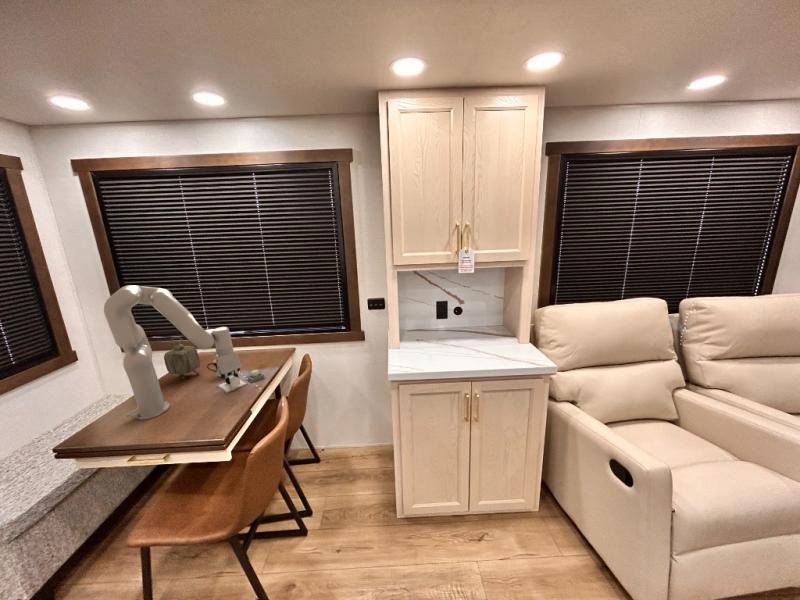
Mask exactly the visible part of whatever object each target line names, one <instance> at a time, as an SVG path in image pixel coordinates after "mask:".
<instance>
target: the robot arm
mask: <svg viewBox="0 0 800 600" xmlns="http://www.w3.org/2000/svg"><path fill="white" fill-rule="evenodd" d="M138 304H139V305H146V306H147V305H148V306H149V305H150V306H152V307H153V308H154V309H155V310H156V311H157V312H158V313H160V314H161V315H162V316H163V317H165V318H166V319H167V321H169V322H170V323H171V324H172V325H173V326H174V327H175V328H176V329H177V330H178V331H179V332H181V334H182V335H183V336H184V337H185V338H186V339H188V341H190V342H191V343H192V344H193V345H194V346H196V347H197V348H198V349H200V350H209V349H211V348H212V347H213V346H215V351H213V354H214V355H216V356H215V357H216V358H215V359H216V362H217V369H218V370H217V369H216V371H217V372H215V376H216V377H219V376H221V377H224V378H223V379H224V382H225V381H226V383H227V384H229V385H230V381H229V377H228V373H229V372H231V371H232V375H233V376H235V377H238V378H239V372H240V370H241V369H242V367H244V365H243V364H242V363H241V361H240V358H239V355H238V352H237V350H236V349H234V347H233V346H234V345H233V342H232V341H233V340H232V336H231V332H230V329H229V327H227V326H220V327H216V328H211V329H204V328H203V327H202V325H200V324H199V323H198V321H197V320H196V319H195V317H194V316H193V314H192V313H191V312H190V311H189V310H188V309H187V308H186V307H185V306H183V305H182V303H181V302H179V301H178V300H177V299H176V298H175V297H174V296H173V294H172V292H171V291H170V290H168V289H167V288H161V287H151V286H141V285H132V284H129V285H125V286H122V287H120V288H119V289H117V290H116V291H115V292H114V293H113V294H111V296H109V297H108V298H107V299H106V301H105V302H104V305H103V312H104V316H105V319H106V321H107V324H108V327H109V329H110V332H111V334H112V337H113V339H114V343H115V344H116V345H117V347H120V349H123V351H124V354H125V356H124V358H123V361H122V366H123V369H124V371H125V373H126V376H127V378H128V381H129V383H130V387H131V389H132V392H133V396H134V399H135V402H136V404H137V406H136V408H135V409H133V410H131V411H129V412H125V416H126V418H133V417H136V419H137V420H140V421H141V420H149V419H153V418H155V417H158V416H160V415H162V414H164V413H166V411H168V410H169V409H170V407H171V405H170V402H168V401H165V398H164V395H163V392H162V389H161V386H160V385H161V384H160V382H159V379H158V375H157V372H156V369H155V366H154V364H153V349H152V347H151V344H150V342H149V339H148V337H147V334H146V333H145V330H144V328H143V327H142V326H141V325H139V324H137V323H136V320H135V317H134V315H133V313H132V308H133V307H135V306H136V305H138ZM220 373H221V374H220Z"/></svg>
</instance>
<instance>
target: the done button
mask: <svg viewBox="0 0 800 600" xmlns="http://www.w3.org/2000/svg"><path fill="white" fill-rule="evenodd" d="M259 372H260V371H259V369H253V370H251V371H250V375H251V377H252V378H255V377H257V376H259Z"/></svg>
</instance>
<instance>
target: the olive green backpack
mask: <svg viewBox="0 0 800 600" xmlns="http://www.w3.org/2000/svg"><path fill="white" fill-rule="evenodd" d="M174 339H179V340H180V341H181V342H179V341H176V342H174V341H173V340H174ZM170 341H171V343H173V344H175V345H173V348H172V349H171V350H169V351H167V352H165V353H164V355H163V360H164V364H165V367H166V370H167V372H168V374H171V375H179V376H181V379H182V380H185V379H186V377H185V375H187V374H190V373H192V372H193V373H195V375H196V376H197V375H200V372H199V371H196V370H197V369H198V368H200V367H201V359H200V356H199V353H198V350H197V349H196V347H195V346H192V345H184V344H182V343H183V341H184V340H183V338H181V337H178V336H174V337H171V339H170Z"/></svg>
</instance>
